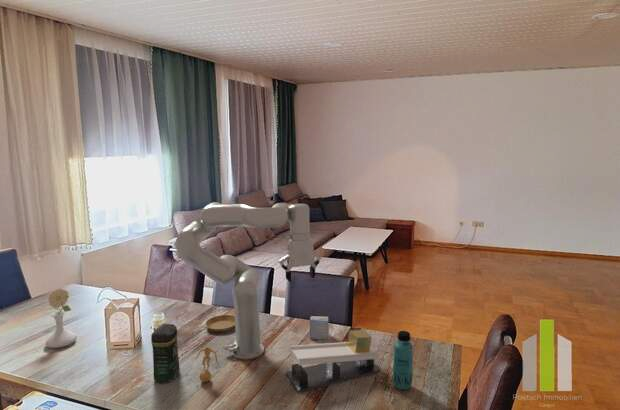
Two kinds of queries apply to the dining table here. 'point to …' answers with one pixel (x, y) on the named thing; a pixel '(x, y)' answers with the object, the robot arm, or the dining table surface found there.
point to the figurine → (206, 374)
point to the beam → (327, 353)
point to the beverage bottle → (403, 361)
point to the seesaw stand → (329, 373)
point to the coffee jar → (165, 353)
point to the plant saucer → (221, 323)
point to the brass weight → (359, 341)
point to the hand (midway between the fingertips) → (300, 278)
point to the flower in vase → (59, 320)
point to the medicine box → (319, 327)
